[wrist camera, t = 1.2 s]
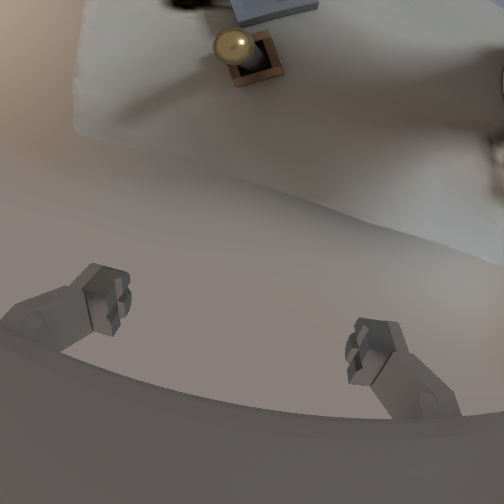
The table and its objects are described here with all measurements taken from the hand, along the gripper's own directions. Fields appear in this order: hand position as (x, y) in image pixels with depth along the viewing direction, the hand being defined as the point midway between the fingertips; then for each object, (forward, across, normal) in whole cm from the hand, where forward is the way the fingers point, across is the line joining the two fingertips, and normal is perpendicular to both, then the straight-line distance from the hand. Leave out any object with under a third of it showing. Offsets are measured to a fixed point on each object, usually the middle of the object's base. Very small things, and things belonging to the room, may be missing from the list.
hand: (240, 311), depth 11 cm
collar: (+34, +5, -11) cm, 36 cm away
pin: (+34, +5, -11) cm, 36 cm away
